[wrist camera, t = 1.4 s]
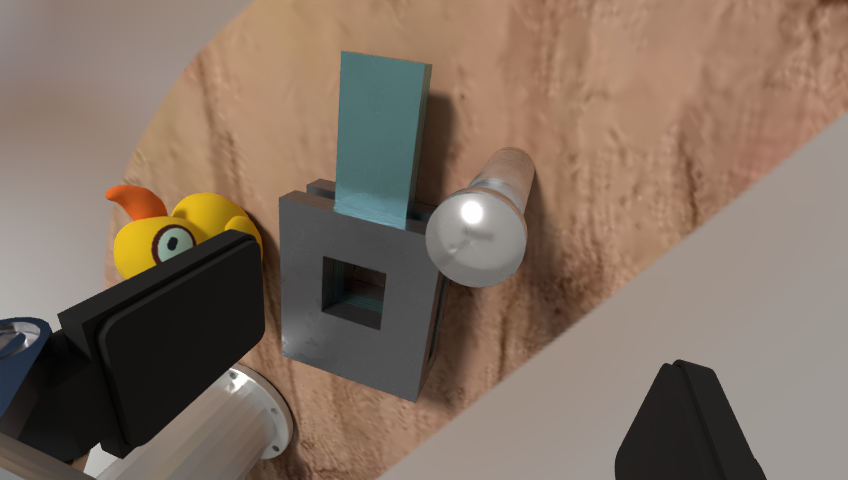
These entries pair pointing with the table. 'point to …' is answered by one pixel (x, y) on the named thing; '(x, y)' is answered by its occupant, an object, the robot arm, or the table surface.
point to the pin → (484, 223)
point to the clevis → (366, 239)
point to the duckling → (170, 226)
